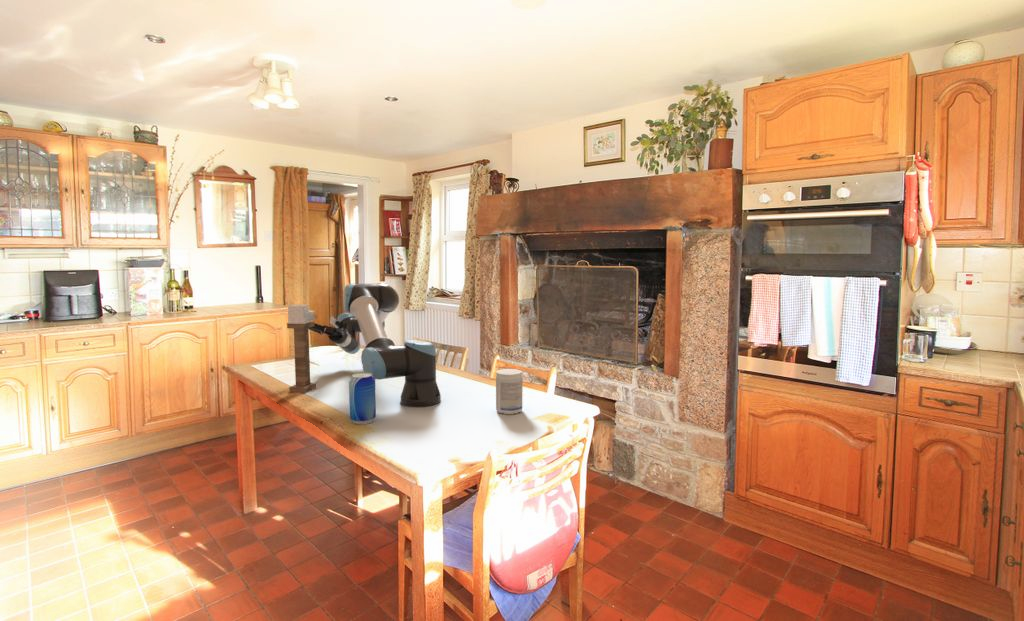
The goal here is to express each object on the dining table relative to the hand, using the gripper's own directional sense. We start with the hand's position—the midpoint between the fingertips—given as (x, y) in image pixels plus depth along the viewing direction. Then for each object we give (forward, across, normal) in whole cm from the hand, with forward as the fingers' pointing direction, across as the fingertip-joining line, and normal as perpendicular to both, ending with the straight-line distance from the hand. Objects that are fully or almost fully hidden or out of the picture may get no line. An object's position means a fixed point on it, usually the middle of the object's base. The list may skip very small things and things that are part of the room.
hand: (316, 318), depth 219 cm
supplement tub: (+3, -88, -34) cm, 95 cm away
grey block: (+7, 0, -4) cm, 8 cm away
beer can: (+22, -42, -46) cm, 66 cm away
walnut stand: (-5, 0, -30) cm, 30 cm away
